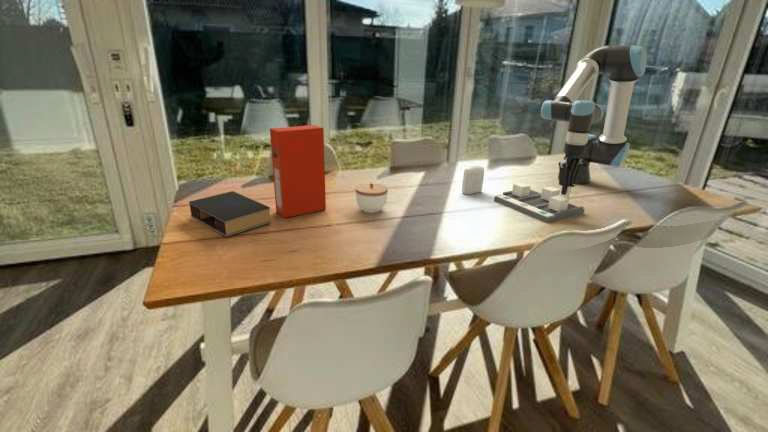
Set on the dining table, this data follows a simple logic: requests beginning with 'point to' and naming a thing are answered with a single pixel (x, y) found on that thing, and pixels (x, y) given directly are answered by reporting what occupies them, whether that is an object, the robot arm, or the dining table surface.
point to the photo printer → (473, 179)
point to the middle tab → (549, 193)
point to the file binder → (298, 169)
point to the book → (230, 213)
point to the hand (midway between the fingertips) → (563, 201)
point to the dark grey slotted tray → (537, 206)
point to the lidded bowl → (371, 197)
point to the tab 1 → (521, 189)
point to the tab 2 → (558, 203)
